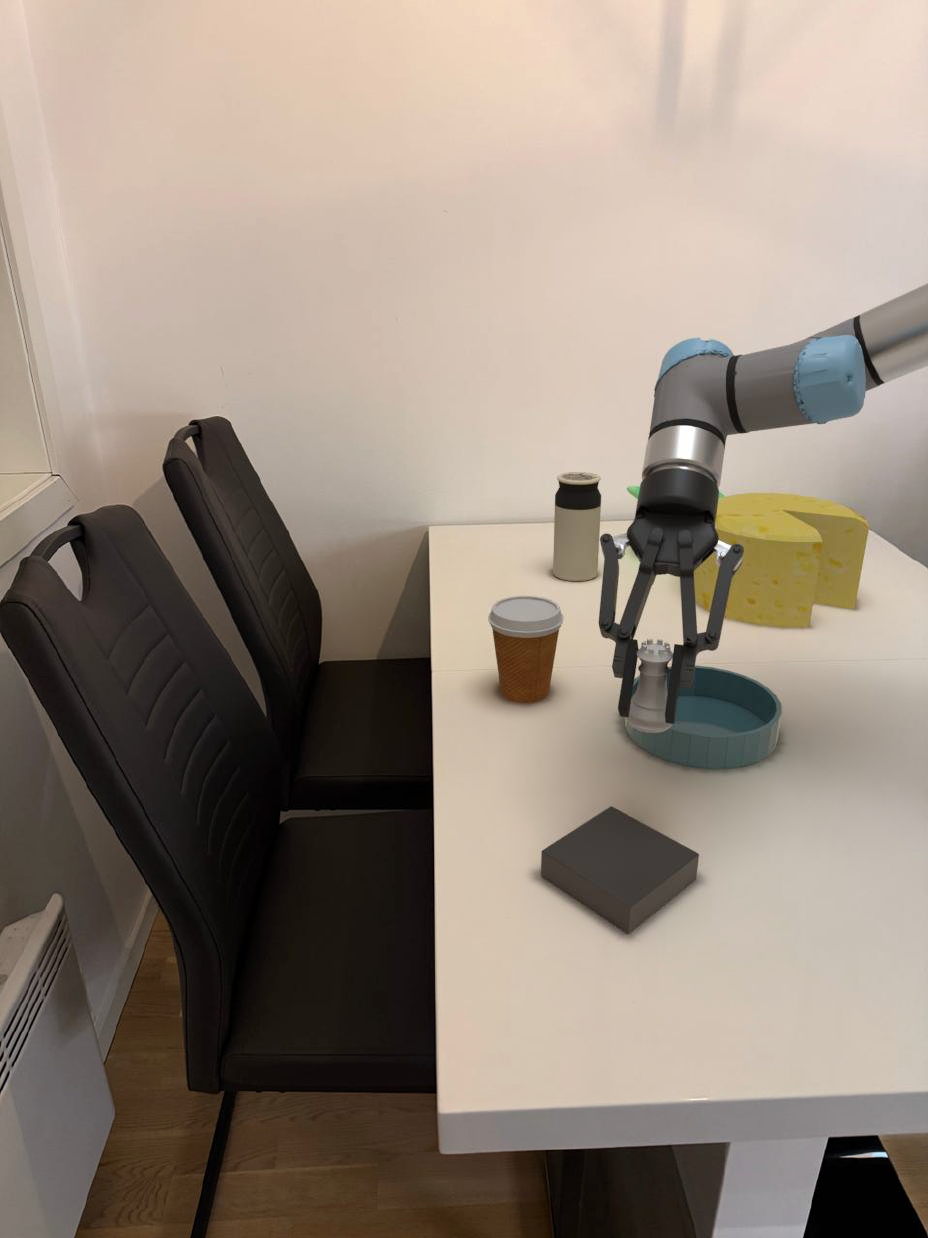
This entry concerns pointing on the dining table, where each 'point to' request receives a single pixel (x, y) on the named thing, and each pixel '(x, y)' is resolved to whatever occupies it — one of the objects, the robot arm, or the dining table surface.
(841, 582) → the cheese
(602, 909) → the stand
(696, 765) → the tin
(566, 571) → the travel mug
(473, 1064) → the dining table surface
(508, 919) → the dining table surface
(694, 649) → the robot arm
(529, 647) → the disposable coffee cup
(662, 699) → the rook chess piece
